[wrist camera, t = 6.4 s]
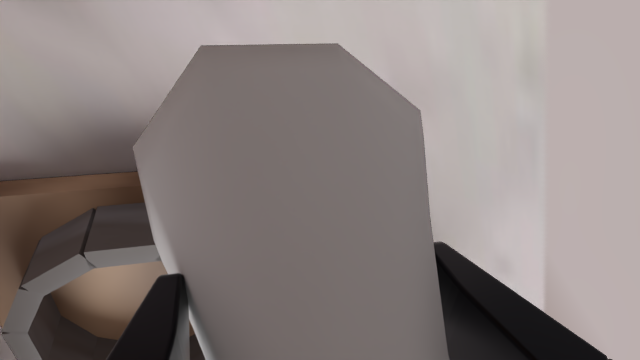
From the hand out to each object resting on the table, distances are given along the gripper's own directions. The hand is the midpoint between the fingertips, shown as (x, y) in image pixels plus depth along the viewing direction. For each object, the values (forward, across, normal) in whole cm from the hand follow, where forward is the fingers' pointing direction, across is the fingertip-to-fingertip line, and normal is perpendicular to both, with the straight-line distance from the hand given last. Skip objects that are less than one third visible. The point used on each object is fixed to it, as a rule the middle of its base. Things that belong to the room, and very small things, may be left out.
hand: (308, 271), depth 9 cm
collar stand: (+13, +6, +13) cm, 19 cm away
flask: (+4, 0, 0) cm, 4 cm away
